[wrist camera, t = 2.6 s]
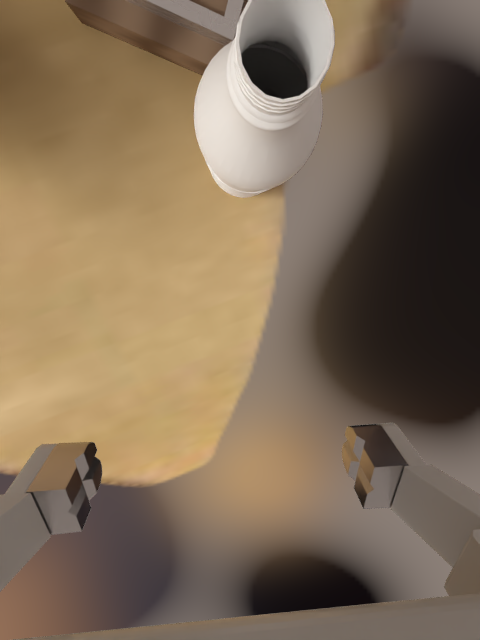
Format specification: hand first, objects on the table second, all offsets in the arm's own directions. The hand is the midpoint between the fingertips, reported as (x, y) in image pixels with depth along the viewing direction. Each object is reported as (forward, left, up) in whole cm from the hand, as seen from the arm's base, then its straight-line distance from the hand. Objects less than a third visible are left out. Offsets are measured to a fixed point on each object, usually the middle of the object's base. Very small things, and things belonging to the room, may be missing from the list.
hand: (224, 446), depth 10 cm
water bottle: (-2, +12, -29) cm, 31 cm away
